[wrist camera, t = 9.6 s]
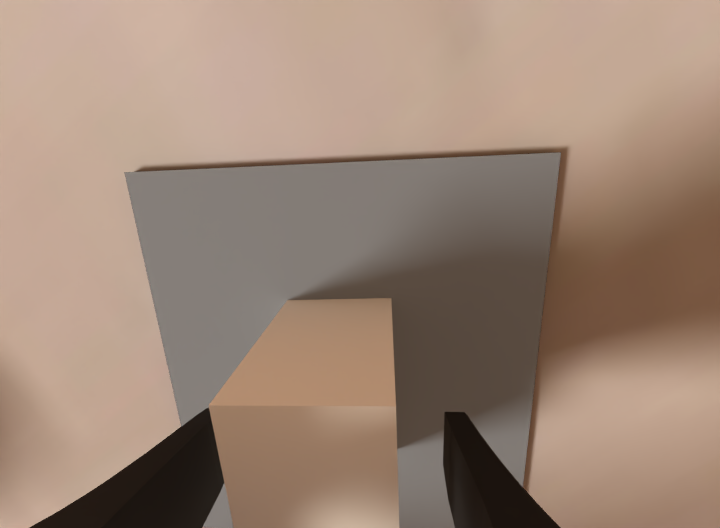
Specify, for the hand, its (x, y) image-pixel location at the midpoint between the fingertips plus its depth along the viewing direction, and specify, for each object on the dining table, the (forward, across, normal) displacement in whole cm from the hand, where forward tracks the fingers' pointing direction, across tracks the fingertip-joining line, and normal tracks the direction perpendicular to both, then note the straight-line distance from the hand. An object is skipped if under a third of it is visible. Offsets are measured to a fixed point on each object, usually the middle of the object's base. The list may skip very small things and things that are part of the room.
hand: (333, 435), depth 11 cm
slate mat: (+3, 0, 0) cm, 3 cm away
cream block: (+3, 0, 0) cm, 3 cm away
